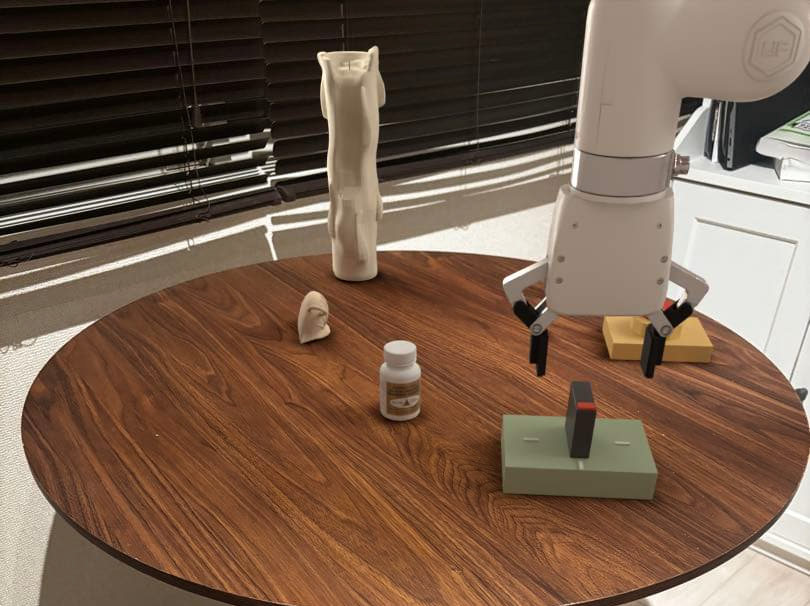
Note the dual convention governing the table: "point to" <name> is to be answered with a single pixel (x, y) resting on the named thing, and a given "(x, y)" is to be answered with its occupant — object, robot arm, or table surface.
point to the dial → (580, 419)
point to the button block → (679, 347)
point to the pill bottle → (400, 381)
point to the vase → (353, 158)
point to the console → (576, 459)
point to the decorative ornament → (313, 317)
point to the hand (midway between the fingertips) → (592, 371)
